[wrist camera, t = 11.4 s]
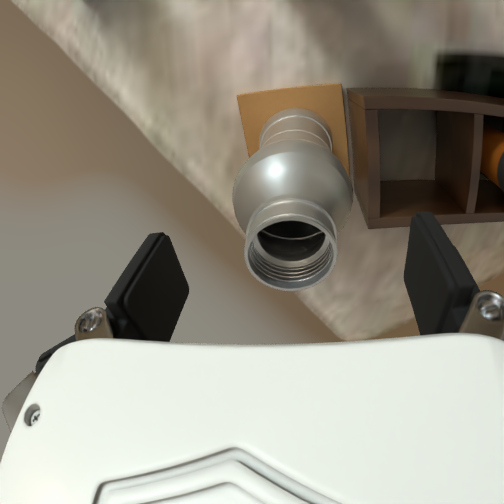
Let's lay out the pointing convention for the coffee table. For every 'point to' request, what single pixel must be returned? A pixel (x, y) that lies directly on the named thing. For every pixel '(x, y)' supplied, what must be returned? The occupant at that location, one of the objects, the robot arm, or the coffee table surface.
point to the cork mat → (306, 97)
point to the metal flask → (292, 201)
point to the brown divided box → (447, 159)
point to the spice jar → (493, 155)
